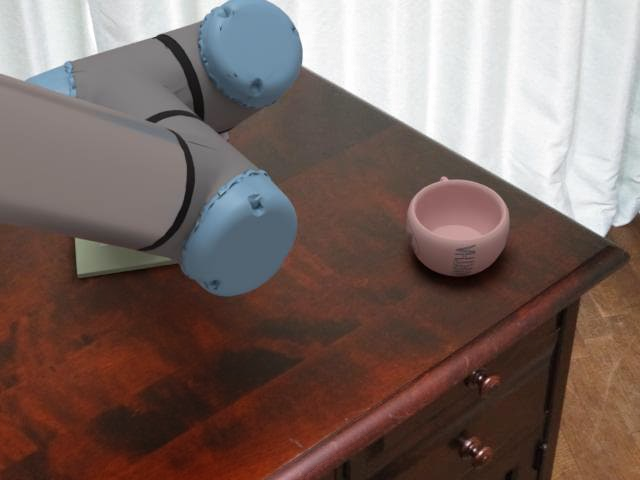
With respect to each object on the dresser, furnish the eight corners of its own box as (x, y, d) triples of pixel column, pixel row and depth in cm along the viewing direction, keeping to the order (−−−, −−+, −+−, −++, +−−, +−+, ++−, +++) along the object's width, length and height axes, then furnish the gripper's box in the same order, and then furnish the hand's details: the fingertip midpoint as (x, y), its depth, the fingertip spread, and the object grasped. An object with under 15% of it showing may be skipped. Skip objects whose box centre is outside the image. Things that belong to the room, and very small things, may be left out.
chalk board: (199, 260, 114) (198, 255, 114) (78, 278, 113) (76, 273, 112) (175, 130, 130) (175, 125, 130) (69, 145, 129) (68, 140, 128)
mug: (517, 283, 111) (523, 237, 107) (416, 295, 110) (418, 249, 106) (486, 203, 120) (490, 158, 116) (392, 214, 119) (394, 169, 115)
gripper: (122, 189, 88) (51, 240, 109) (288, 104, 96) (192, 167, 117) (74, 103, 88) (11, 171, 109) (245, 24, 96) (156, 101, 116)
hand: (105, 168), depth 113 cm, fingers closed on eraser, 3 cm apart
